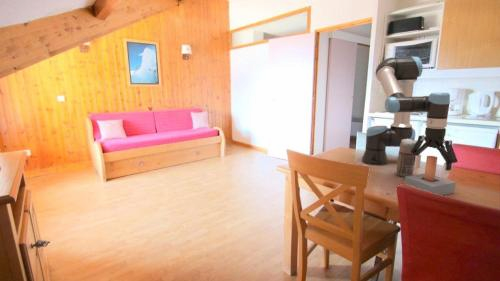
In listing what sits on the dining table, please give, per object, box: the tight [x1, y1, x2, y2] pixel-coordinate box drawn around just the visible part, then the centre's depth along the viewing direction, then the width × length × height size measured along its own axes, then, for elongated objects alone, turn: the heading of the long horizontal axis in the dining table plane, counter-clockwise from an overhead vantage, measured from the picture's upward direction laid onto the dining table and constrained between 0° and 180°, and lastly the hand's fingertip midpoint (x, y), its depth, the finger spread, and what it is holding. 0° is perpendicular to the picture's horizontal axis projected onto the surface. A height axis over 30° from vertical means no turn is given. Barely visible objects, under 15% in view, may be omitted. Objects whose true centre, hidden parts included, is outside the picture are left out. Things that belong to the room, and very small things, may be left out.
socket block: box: [404, 172, 457, 196], centre depth 121 cm, size 14×14×5 cm
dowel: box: [424, 155, 438, 182], centre depth 120 cm, size 4×4×16 cm
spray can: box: [395, 139, 418, 178], centre depth 139 cm, size 8×8×20 cm
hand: (430, 172), depth 120 cm, fingers open, 13 cm apart
